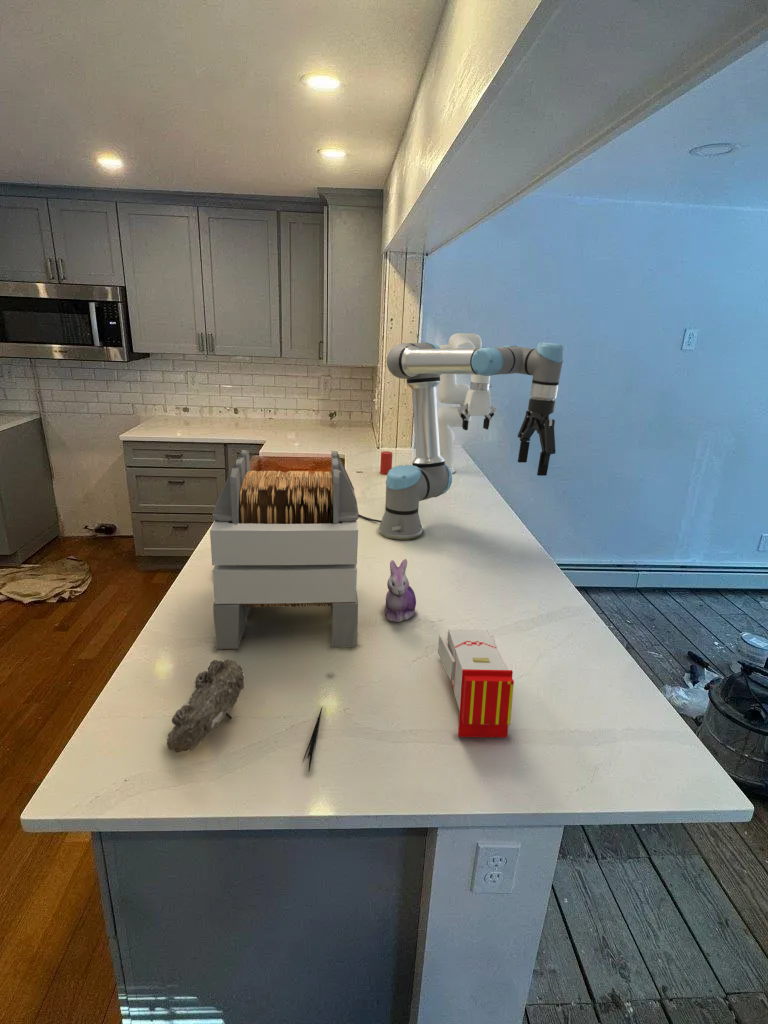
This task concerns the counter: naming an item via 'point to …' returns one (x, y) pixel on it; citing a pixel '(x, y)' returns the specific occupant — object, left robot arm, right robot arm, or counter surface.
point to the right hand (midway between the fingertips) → (475, 429)
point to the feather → (313, 740)
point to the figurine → (399, 594)
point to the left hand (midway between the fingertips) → (531, 468)
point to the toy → (478, 682)
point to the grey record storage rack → (285, 547)
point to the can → (385, 462)
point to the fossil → (206, 705)
